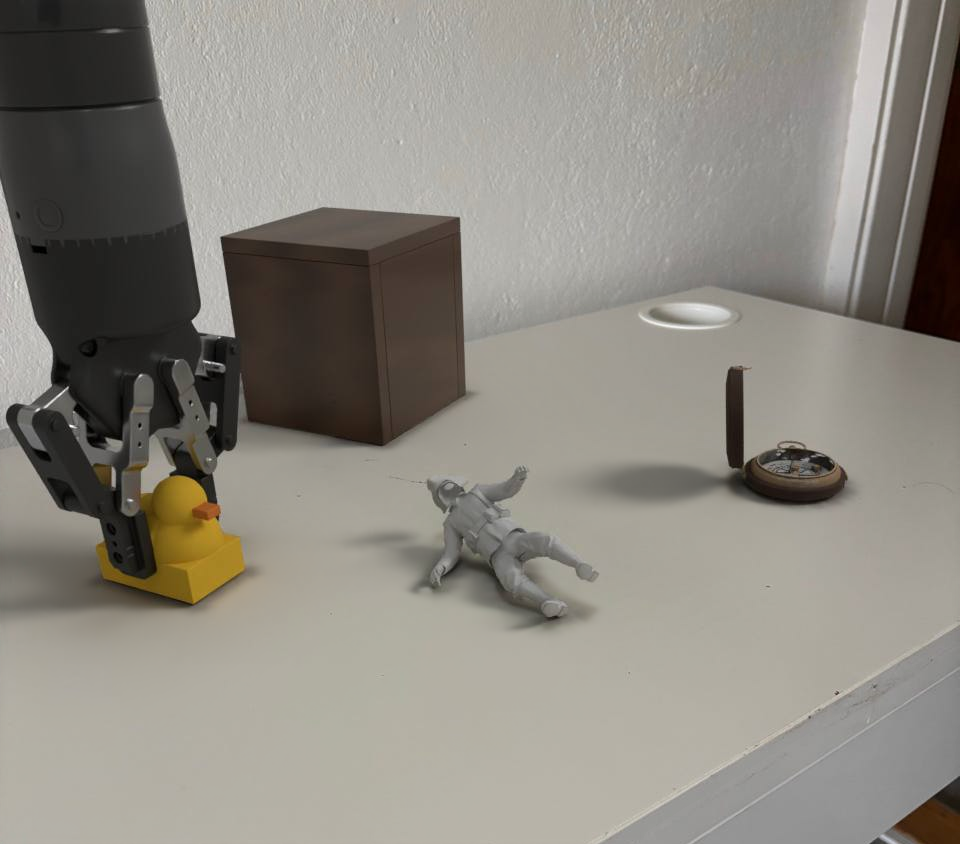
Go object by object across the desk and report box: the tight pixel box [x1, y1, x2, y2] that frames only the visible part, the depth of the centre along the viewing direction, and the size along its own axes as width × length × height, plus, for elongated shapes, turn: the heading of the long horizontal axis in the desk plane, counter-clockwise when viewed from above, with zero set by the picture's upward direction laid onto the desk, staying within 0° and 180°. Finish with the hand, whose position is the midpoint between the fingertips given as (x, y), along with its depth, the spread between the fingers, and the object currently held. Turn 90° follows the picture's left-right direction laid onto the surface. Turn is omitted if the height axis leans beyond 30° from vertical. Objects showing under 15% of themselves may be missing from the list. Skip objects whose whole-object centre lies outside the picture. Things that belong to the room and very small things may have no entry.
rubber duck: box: [95, 476, 246, 605], centre depth 54 cm, size 7×4×6 cm, turn 62°
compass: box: [725, 365, 849, 502], centre depth 63 cm, size 8×8×7 cm
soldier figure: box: [426, 465, 600, 618], centre depth 54 cm, size 8×5×12 cm
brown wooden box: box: [219, 206, 467, 446], centre depth 75 cm, size 12×12×13 cm
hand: (169, 553), depth 55 cm, fingers closed on rubber duck, 4 cm apart
